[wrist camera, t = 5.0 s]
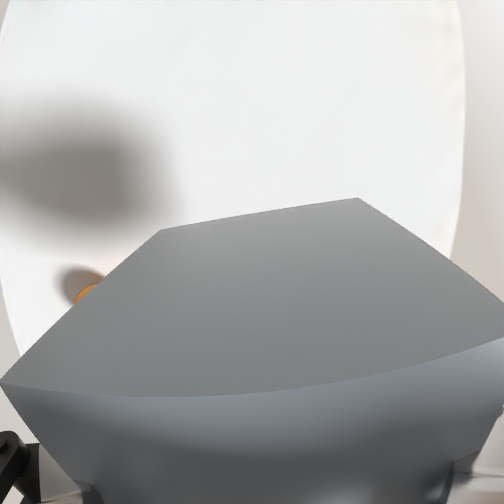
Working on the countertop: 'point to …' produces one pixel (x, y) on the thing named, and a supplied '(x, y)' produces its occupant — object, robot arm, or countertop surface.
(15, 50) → the countertop surface
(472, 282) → the grey square block
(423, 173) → the countertop surface
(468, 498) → the robot arm
